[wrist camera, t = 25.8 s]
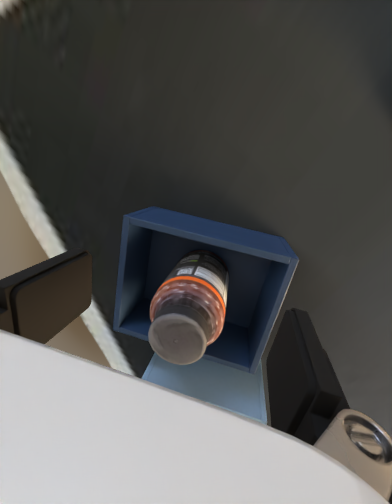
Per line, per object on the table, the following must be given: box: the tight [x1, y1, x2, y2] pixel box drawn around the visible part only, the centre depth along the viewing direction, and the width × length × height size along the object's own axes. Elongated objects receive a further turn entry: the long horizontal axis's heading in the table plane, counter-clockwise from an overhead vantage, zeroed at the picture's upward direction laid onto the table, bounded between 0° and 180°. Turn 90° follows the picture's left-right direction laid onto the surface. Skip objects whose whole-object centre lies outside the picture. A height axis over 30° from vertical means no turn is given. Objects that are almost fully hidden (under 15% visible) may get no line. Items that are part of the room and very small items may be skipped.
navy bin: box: [113, 206, 299, 374], centre depth 23 cm, size 14×12×7 cm
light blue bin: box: [142, 352, 267, 425], centre depth 25 cm, size 12×10×12 cm
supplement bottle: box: [148, 250, 229, 365], centre depth 20 cm, size 6×6×11 cm
